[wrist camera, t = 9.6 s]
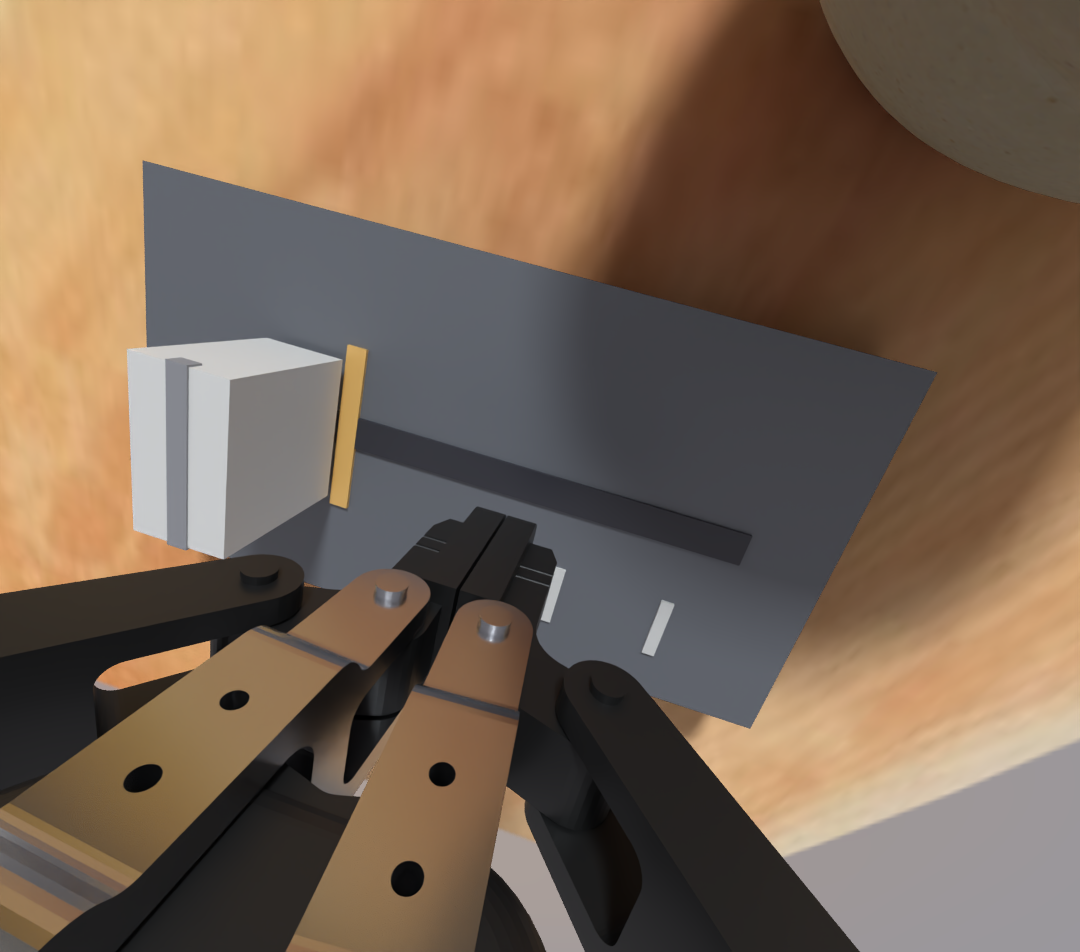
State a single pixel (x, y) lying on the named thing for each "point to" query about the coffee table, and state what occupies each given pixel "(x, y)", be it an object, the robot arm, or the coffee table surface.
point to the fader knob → (228, 439)
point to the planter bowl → (976, 81)
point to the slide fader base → (549, 429)
